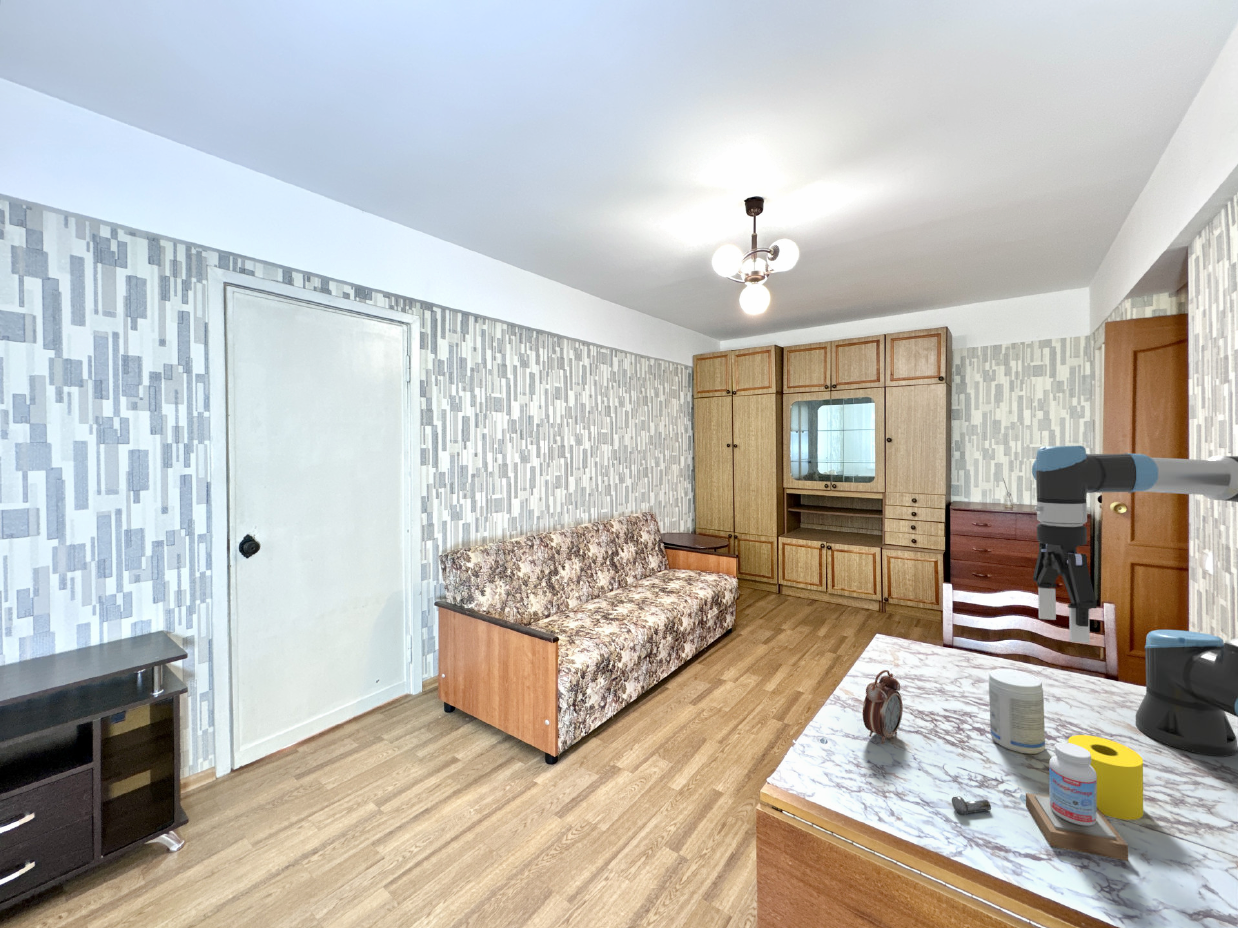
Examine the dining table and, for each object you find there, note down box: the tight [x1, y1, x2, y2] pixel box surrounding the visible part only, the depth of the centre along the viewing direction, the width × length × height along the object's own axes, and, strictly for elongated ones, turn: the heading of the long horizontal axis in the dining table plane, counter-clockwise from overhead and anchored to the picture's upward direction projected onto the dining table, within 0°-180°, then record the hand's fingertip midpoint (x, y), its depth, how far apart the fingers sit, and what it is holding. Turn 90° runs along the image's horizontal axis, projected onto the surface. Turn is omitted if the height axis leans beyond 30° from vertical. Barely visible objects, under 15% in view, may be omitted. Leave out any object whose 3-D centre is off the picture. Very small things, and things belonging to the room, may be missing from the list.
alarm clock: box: [862, 669, 904, 745], centre depth 118 cm, size 11×5×15 cm, turn 128°
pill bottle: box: [1048, 741, 1097, 826], centre depth 87 cm, size 6×6×11 cm
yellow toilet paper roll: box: [1067, 734, 1144, 821], centre depth 95 cm, size 10×10×9 cm
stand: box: [1025, 792, 1129, 862], centre depth 88 cm, size 10×10×3 cm
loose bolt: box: [951, 795, 992, 815], centre depth 93 cm, size 6×3×3 cm, turn 95°
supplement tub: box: [988, 668, 1046, 755], centre depth 113 cm, size 10×10×15 cm
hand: (1062, 629), depth 103 cm, fingers open, 13 cm apart
